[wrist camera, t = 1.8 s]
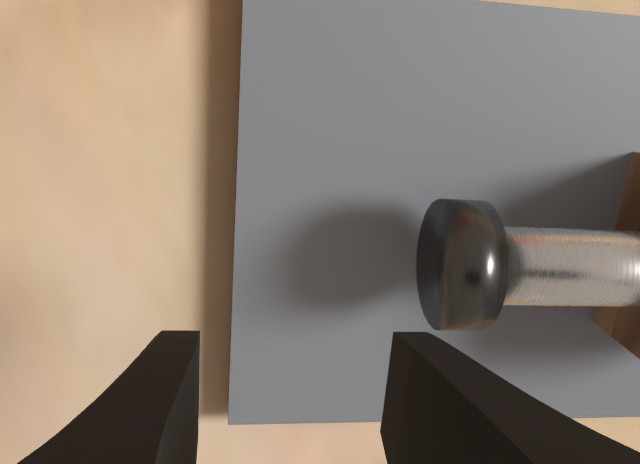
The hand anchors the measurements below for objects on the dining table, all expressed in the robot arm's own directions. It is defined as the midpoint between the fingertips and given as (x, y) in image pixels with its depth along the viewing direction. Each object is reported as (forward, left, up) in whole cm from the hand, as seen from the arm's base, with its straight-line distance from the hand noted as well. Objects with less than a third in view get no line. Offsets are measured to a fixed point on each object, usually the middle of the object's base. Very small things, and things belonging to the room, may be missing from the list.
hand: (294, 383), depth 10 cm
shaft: (0, -10, -8) cm, 12 cm away
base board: (0, -9, -9) cm, 13 cm away
